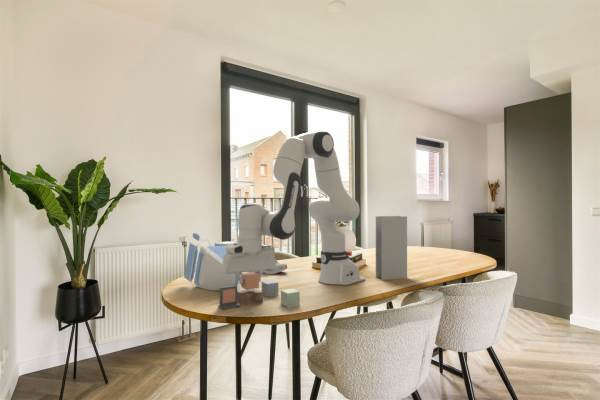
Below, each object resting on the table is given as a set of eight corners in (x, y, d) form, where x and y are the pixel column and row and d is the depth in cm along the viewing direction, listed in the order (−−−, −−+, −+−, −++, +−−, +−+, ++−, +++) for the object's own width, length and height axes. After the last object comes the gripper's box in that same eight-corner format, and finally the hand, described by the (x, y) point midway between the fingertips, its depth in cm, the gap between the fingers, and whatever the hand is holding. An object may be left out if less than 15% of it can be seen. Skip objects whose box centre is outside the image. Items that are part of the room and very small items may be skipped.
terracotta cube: (253, 285, 130) (253, 272, 130) (258, 287, 126) (258, 274, 126) (241, 286, 127) (241, 273, 127) (246, 289, 123) (246, 276, 123)
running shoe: (283, 275, 170) (283, 256, 170) (244, 272, 177) (244, 254, 177) (289, 272, 179) (289, 253, 179) (252, 269, 186) (252, 251, 186)
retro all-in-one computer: (191, 230, 147) (223, 227, 159) (183, 278, 151) (215, 272, 164) (226, 252, 131) (258, 247, 144) (216, 306, 136) (248, 296, 148)
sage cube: (292, 301, 127) (292, 288, 127) (299, 305, 122) (299, 291, 122) (280, 304, 124) (280, 290, 124) (287, 307, 120) (287, 293, 120)
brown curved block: (252, 298, 132) (252, 288, 132) (263, 302, 126) (263, 291, 126) (237, 302, 127) (236, 291, 127) (247, 306, 122) (247, 295, 122)
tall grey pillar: (400, 275, 170) (400, 215, 169) (407, 277, 164) (407, 216, 164) (375, 277, 165) (375, 216, 165) (381, 280, 160) (381, 216, 160)
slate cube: (272, 291, 140) (272, 279, 140) (278, 294, 136) (278, 282, 136) (261, 293, 138) (261, 281, 137) (267, 296, 133) (267, 284, 133)
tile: (236, 304, 123) (236, 284, 123) (239, 306, 121) (239, 286, 121) (218, 307, 119) (218, 287, 119) (220, 310, 117) (220, 289, 117)
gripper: (270, 243, 135) (270, 277, 135) (221, 247, 124) (221, 284, 124) (278, 245, 129) (278, 281, 129) (227, 249, 118) (227, 288, 118)
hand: (249, 283), depth 127 cm, fingers closed on terracotta cube, 5 cm apart
